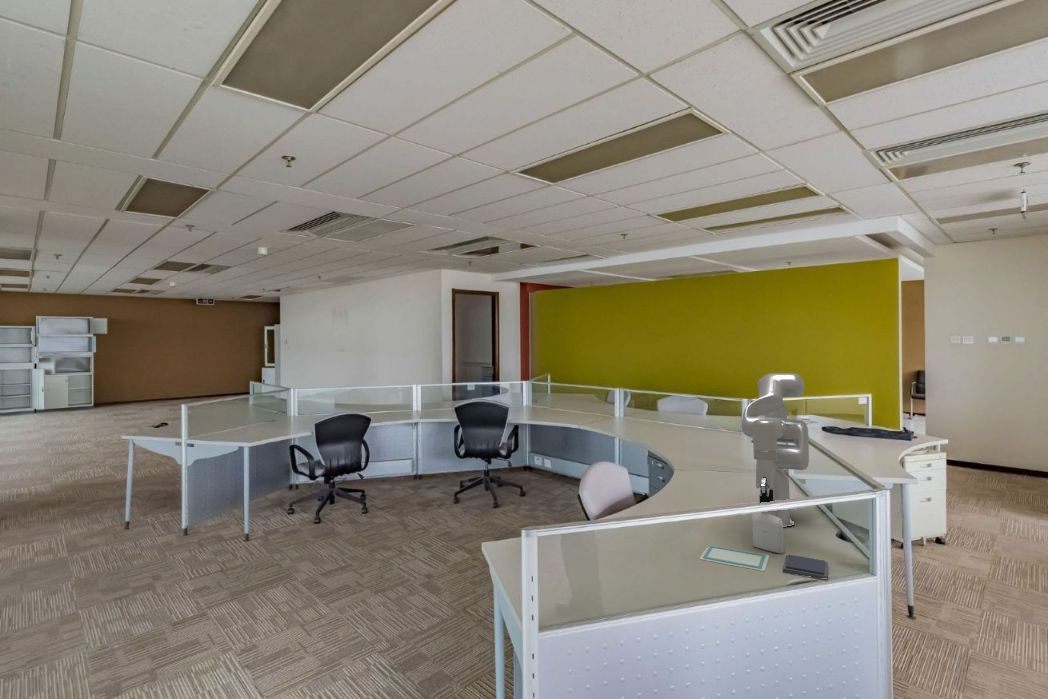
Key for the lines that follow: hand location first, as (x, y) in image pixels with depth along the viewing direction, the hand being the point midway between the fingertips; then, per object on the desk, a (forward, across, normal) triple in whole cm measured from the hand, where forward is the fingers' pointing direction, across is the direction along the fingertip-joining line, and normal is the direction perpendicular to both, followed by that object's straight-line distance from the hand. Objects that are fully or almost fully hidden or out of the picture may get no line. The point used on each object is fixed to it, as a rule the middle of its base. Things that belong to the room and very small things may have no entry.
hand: (766, 504), depth 176 cm
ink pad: (+16, +11, +12) cm, 23 cm away
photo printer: (+16, -1, 0) cm, 16 cm away
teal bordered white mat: (+16, +12, -9) cm, 22 cm away
